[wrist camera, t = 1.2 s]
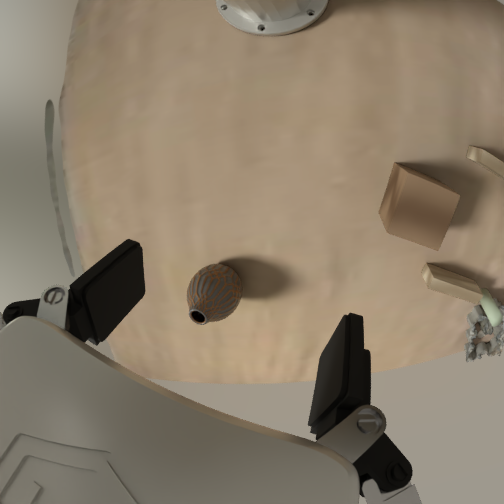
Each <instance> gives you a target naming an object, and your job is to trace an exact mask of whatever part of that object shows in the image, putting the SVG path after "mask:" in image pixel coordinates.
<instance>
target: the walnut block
mask: <svg viewBox="0 0 504 504" xmlns="http://www.w3.org/2000/svg"><path fill="white" fill-rule="evenodd" d="M459 199H460V195H459V194H458V193H456V192H455V191H453V190H452V189H451V188H449V187H448V186H446V185H445V184H443V183H442V182H440V181H438V180H436V179H434V178H432V177H429V176H427V175H425V174H422V173H420V172H417V171H415V170H413V169H410V168H407V167H405V166H402V165H400V164H397V163H394V165H393V168H392V172H391V175H390V179H389V182H388V185H387V188H386V191H385V195H384V198H383V201H382V204H381V207H380V210H379V214H380V217H381V219H382V221H383V224H384V226H385V229H386V231H387V233H389V234H392V235H395V236H398V237H401V238H403V239H406V240H409V241H412V242H415V243H417V244H420V245H423V246H426V247H428V248H431V249H434V250H436V251H438V250H439V248H440V246H441V244H442V241H443V239H444V237H445V234H446V232H447V230H448V227H449V225H450V222H451V220H452V217H453V215H454V212H455V210H456V207H457V204H458V201H459Z"/></svg>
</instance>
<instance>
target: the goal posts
mask: <svg viewBox="0 0 504 504" xmlns="http://www.w3.org/2000/svg"><path fill="white" fill-rule="evenodd" d="M481 292H482V294H483V297H482V299H481V300H480V304H481V305H482V307H483V309H484V311H485V313H486V315H487V317H488V319H489V321H490V323H491V325H492V326H493V327H495V326H498V325H499V324H500V323H501V322H502V320H503V316H502V314H501V312H500V310H499V308H498V307H497V305H496V303H495V302H494V300H493V298H492V297H491V295H490V293H489V292H488V290H487V289H486V288H483V289H481Z"/></svg>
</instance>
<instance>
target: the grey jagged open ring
mask: <svg viewBox="0 0 504 504" xmlns="http://www.w3.org/2000/svg"><path fill="white" fill-rule="evenodd" d="M493 300H494V302H495V303H496V305H497V307H498V308H499V310H500V312H501V314H502V316H503V320H502V322H501V323H500V324H499V325H498V326H495V327H493V326H492V325H491V323H490V321H489V319H488V317H487V315H486V313H485V311H484V309H482V308H480V306H479V305H477V306H475V307H474V308H473V310H472V312H471V313H470V314H468V315H467V321H468V323H469V325H470V328H469V329H468V330H466V336H467V339H468V343H467V344H465V346H464V349H465V351H466V361H467V362H469V361H474V359H477V358H479V359H481V355H483V354H485V353H487V355H488V356H494V355H496V354H499V356H500V354H501V352H502V348H503V343H504V340H503V337H504V306H503V305H502V304H501V302H498V301H497V299H496V298H494V299H493ZM477 321H478V323H479V326H480V328H481V330H480V331H479V332H478V333H477V330H476V327H475V323H476V322H477ZM492 333H494V335H495V336H494V337H493V338H492V339H491V341H490V342H488V343H485V342H480V343H478V344H477V345H476V346H475V345H474V343H473V339H474V338H476V335H477V338H479V339H480V338H483V337H484V336H485V335H486V334H490V335H491V334H492Z"/></svg>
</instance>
